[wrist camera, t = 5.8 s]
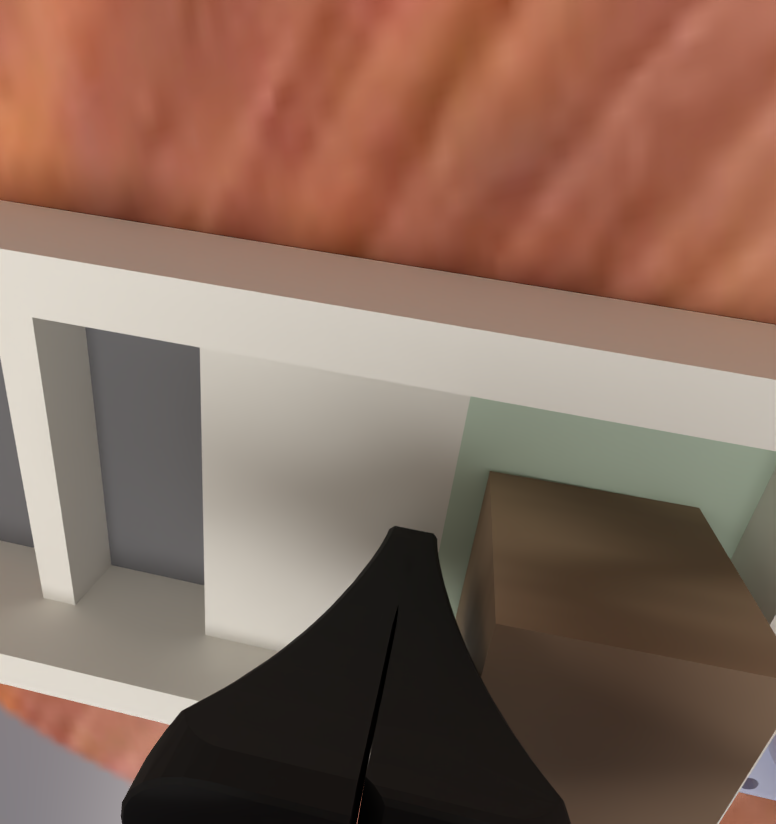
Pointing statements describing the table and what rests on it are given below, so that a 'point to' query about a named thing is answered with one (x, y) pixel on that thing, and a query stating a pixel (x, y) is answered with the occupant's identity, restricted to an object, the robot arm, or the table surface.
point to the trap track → (315, 438)
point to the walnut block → (618, 649)
